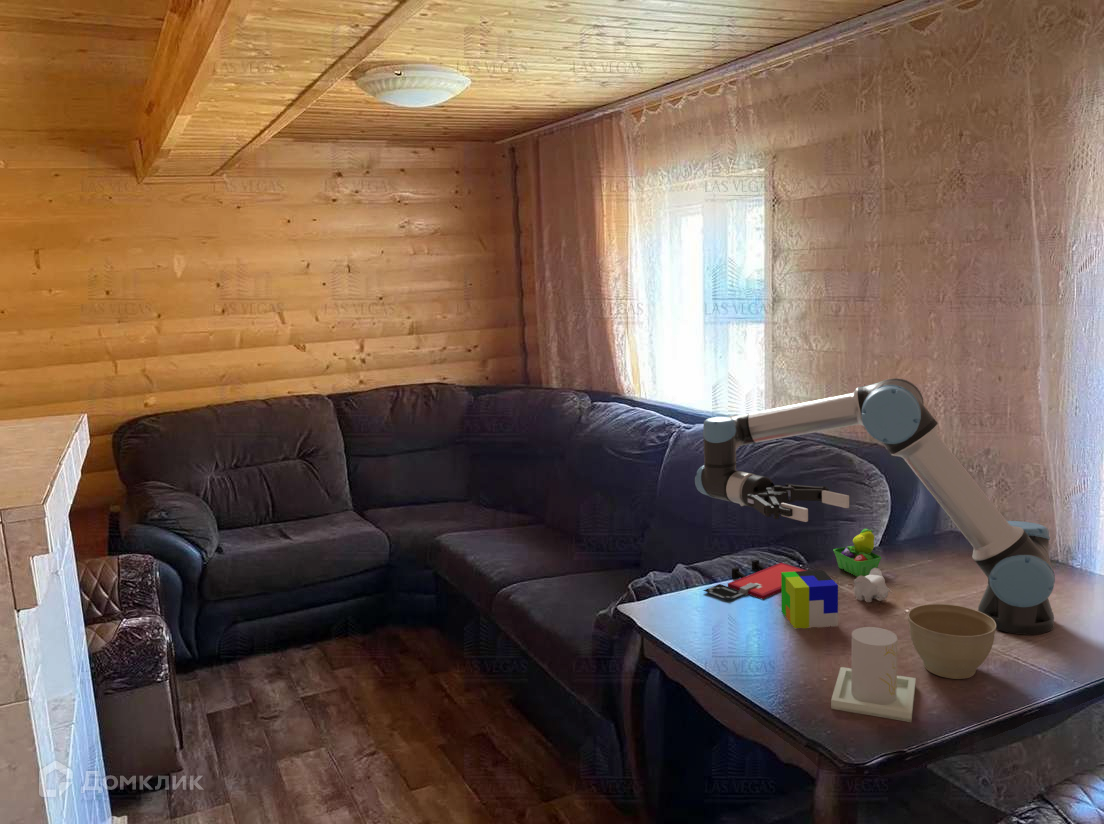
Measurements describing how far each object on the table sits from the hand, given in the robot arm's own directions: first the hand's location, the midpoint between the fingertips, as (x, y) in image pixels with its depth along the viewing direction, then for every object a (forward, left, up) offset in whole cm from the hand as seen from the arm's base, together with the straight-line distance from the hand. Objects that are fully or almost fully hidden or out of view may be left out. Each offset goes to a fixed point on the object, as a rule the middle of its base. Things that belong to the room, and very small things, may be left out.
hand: (828, 508), depth 180 cm
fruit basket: (-1, -50, -32) cm, 59 cm away
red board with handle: (+22, -33, -32) cm, 51 cm away
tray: (-11, +18, -32) cm, 38 cm away
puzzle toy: (+6, -15, -32) cm, 36 cm away
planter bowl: (-24, +1, -32) cm, 40 cm away
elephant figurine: (-6, -31, -32) cm, 45 cm away
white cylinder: (-11, +18, -31) cm, 38 cm away
